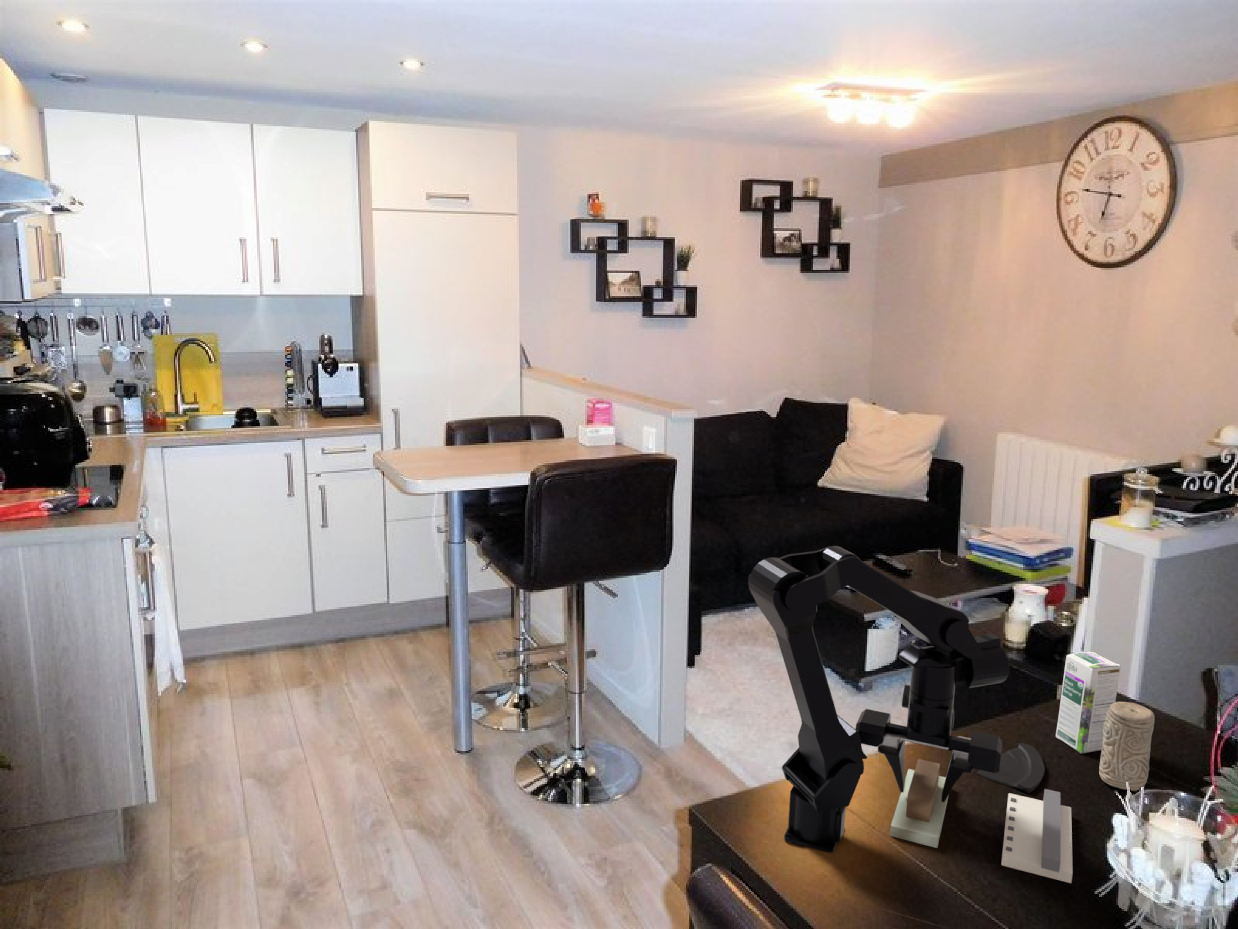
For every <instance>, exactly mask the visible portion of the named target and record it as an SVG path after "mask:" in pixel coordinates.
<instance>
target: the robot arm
mask: <svg viewBox="0 0 1238 929" xmlns="http://www.w3.org/2000/svg"><path fill="white" fill-rule="evenodd" d="M747 578H748V581H747V582H748V583H747V584H748V590H749V592H750V593H751V596H752V597H753V599H754V600H755V603H756V605H757V606H758V609H759V610H760V611H761V612H762V614H763V616H764V617H765V619H766V620H767V621H768V623H769V624H770V626H771V628H772V629H773V630H774V632H775V635H776V639H777V643H778V646H779V649H780V652H781V656H782V658H783V663H784V666H785V668H786V669H785V670H786V672H787V675H788V678H789V679H788V680H789V683H790V686H791V689H792V694H793V696H794V699H795V701H796V702H795V703H796V706H797V709H798V712H799V716H800V719H801V724H800V728H799V732H798V734H797V741H798V748H797V749H796V750H795V751H794V752H793V753H792V754H791V756H790V757H789V758H788V759H787V760H786V761H785V762H784V763H783V765H782V766H781V769H782V773H783V776H784V778H785V780H786V781H788V782H789V783H790V784H791V786H792V787H791V789H790V792H789V804H788V805H789V806H788V821H787V822H788V824H787V826H788V827H787V829H786V830H785V832H784V835H783V839H784V841H786V842H789V843H794V844H795V845H800V846H804V847H807V848H811V849H814V850H818V851H821V852H826V853H829V854H831V853H834V850H836V849H835V848H836V846H837V843H840V842H841V840H842V838H843V836H844V832H845V821H846V808H847V807H849V806H850V804H851V801H852V799H853V797H854V794H855V791H856V789H857V786H858V784H859V781H860V778H861V775H864V771H865V764H864V763H865V762H864V760H866V759H868V756H867V755H866V754H865V752H864V750H863V746H862V745H865V746H869V747H870V746H871V747H875V748H877V752H878V753H879V754H883V755H884V756H885V758H886V760H887V761H888V763H889V765H890V767H891V770H892V771H893V774H894V777H895V780H896V784H897V787H898V789H899V791H900V793H901V792H902V793H903V792H904V788H905V778H906V760H905V758H906V756H905V748H906V742H908V743H913V744H918V745H922V746H927V747H931V748H936V749H941V750H946V751H950V752H951V756H950V760H949V764H948V768H947V771H946V772H947V773H946V776H945V777H946V779H945V783H944V787H943V791H942V799H941V802H945V800H946V799H947V797H948V798H949V796H950V793H951V791H952V790H953V788H954V786H955V784H956V783H957V782H958V781H959V779H960V778H961V777H962V776H963V775H964V773H968V774H971V773H973V772H974V769H975V770H978V771H979V770H983V771H987V772H992V773H997V772H999V769H1000V761H1001V754H1002V752H1003V751H1002V750H1003V743H1004V741H1003V740H1002V738H1001V737H1000V736H999V735H996V734H990V733H986V732H982V731H975V730H972V731H971V736H970V737H965V736H962V735H957V736H955V735H954V736H953V735H952V732H953V730H954V722H955V709H954V702H955V691H956V684H957V685H958V686H959V687H960V688H963V689H971V688H977V687H983V686H988V685H989V686H990V685H994V684H995V685H996V684H1001V683H1002V684H1003V683H1004V682H1005V681H1006V680H1007V679H1008V678H1009V675H1010V670H1011V666H1010V664H1009V660H1008V657H1007V654H1006V652H1005V649H1003V647H1002V645H1001V644H1002V643H1001V642H1002V639H1001V638H1000V637H999V636H996V635H995V634H992V633H984V634H982V635H978V636H974V635H973V633H972V632H971V630H970V629H969V627H970V625H969V623H970V618H969V617H968V615H966V613H965V612H963V611H961V610H959V609H957V608H955V607H953V606H951V605H949V604H947V603H946V602H943V601H941V600H939V599H937V598H936V597H933V596H931V595H927V594H925V593H922V592H919V591H916V590H915V591H914V590H911V589H909V588H907V587H905V586H904V585H902V584H900V583H899V582H898V581H895V580H893V579H892V578H890V577H889V576H887V575H885V574H884V573H882V572H881V571H879V570H877V569H876V568H874V567H872V566H871V565H870V564H867V563H866V562H864V561H862V559H861V558H860V557H859V556H858V555H857V554H854V553H852V552H850V551H848V550H846V549H844V548H843V547H841V546H838V545H832V546H827V547H823V548H821V549H818V550H813V551H807V552H806V551H805V552H797V553H791V554H790V553H789V554H786V555H783V556H781V557H767V558H764V559H762V560H760V561H759V562H758V563H757V564H756V565H755V566H754V567H753V569H752V571H751V572H750V574H749V575H748V577H747ZM845 587H848V588H850V589H853V590H854V591H856V592H857V593H859V594H860V595H862V596H864V597H865V598H867V599H869V600H871V601H873V602H874V603H876V604H878V605H879V606H881V607H883V608H884V609H885V610H886V609H887V611H889V612H890V613H892V615H894V616H895V618H896V619H897V620H898V621H899V623H900V624H902V626H904V628H906V629H907V630H908V631H909V632H910V633H911V634H913V635H914V636H916V637H918V638H919V639H920V640H922V641H924V642H926V643H928V644H930V645H931V646H924V647H921V646H919V645H917V644H916V643H910V645H909V647H907V648H905V649H903V650H902V651H901V652H900V653H899V654H898V656H897V657H898V659H900V660H901V661H903V663H905V664H908V666H911V675H910V682H909V683H910V684H904V687H903V691H902V692H903V694H902V698H901V699H902V700H901V707H902V708H906V709H907V716H906V717H907V720H906V726H905V725H902V724H896V723H892V722H891V720H892V719H891V717H892V716H891V713H887V712H883V711H878V710H873V709H870V708H865V709H864V710H863V711H861V713H860V715H859V717H858V720H857V722H856V724H855V728H854V727H853V726H852V725H851V724H850V723H849V722H847V721H846V720H845V719H843V718H842V717H841V716H840V715H838V712H837V710H836V706H835V703H834V699H833V695H832V693H831V688H830V685H829V681H828V678H827V674H826V671H825V667H824V664H823V660H822V657H821V653H820V650H819V647H818V643H817V642H818V641H817V640H816V636H815V632H814V624H815V619H816V616H817V612H818V605H820V604H822V603H825V602H827V601H830V599H831V598H833V596H835V595H836V594H837V592H839V591H840V590H841V589H843V588H845ZM948 795H949V796H948Z"/></svg>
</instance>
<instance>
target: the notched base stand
mask: <svg viewBox="0 0 1238 929" xmlns="http://www.w3.org/2000/svg"><path fill="white" fill-rule="evenodd" d="M1043 792H1044V793H1043V799H1042V800H1040V799H1036V798H1032V797H1027V796H1022V795H1019V794H1015V793H1010V792H1009V793H1008V794H1007V804H1006V805H1007V806H1006V816H1005V825H1004V832H1003V833H1004V836H1003V843H1002V854H1001V866H1003V867H1007V868H1011V869H1014V870H1018V871H1023V872H1025V873H1030V874H1035V875H1038V876H1042V877H1045V878H1049V879H1052V880H1058V881H1061V882H1065V883H1069V884H1072V881H1073V872H1074V871H1073V839H1072V838H1073V836H1072V835H1073V832H1072V827H1073V826H1072V806H1071V807H1070V806H1066V805H1063V804H1061V792H1060V791H1055V790H1051V789H1048V788H1047V789H1046V788H1044V790H1043Z"/></svg>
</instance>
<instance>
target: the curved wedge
mask: <svg viewBox="0 0 1238 929" xmlns="http://www.w3.org/2000/svg"><path fill="white" fill-rule="evenodd" d="M1037 750H1038V749H1037V748H1035V747H1034V746H1033V745H1030V744H1027V743H1024V742H1021V741H1018V746H1017V747H1015V748H1012V749H1008V750H1006V751H1005V752H1003V753H1001V761H1000V769H999V772H997V773H992V772H987V771H983V770H978V771H977V772H976V774H977V775H978V776H980V777H982V778H984V779H987V780H989V781H991V780H992V782H995V783H997V784H1000V785H1004V786H1007V787H1009V788H1010V787H1011V788H1013V789H1018V790H1020V791H1023V792H1025V793H1026V794H1027V793H1028V794H1030V793H1031V792H1033V791H1034V790H1036V788H1038V786H1039V785H1040V784H1041V782H1042V780H1043V777H1044V775H1045V764H1044V760H1043V758H1042V756H1041V754H1040V753H1039V752H1038V751H1037Z"/></svg>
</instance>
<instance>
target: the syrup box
mask: <svg viewBox="0 0 1238 929" xmlns="http://www.w3.org/2000/svg"><path fill="white" fill-rule="evenodd" d="M1063 672H1064V673H1063V680H1062V689H1061V695H1060V696H1061V697H1060V703H1059V711H1058V718H1057V725H1056V731H1055V738H1057V739H1058V740H1060V741H1062V742H1063V743H1065V744H1066V745H1068V746H1069V747H1071V748H1073V749H1074V750H1075V751H1077V752H1078V753H1079V754H1086V753H1093V752H1097V751H1101V750H1102V746H1103V744H1102V741H1103V727H1104V722H1105V718H1106V712H1107V711H1108V708H1109V707H1110V706H1111V704H1113V703H1115V702H1117V701H1116V699H1117V694H1118V686H1119V679H1120V672H1121V664H1118V663H1116V662H1114V661H1111V660H1110V659H1107V658H1105V657H1104V656H1101V655H1099V654H1097V653H1096V652H1095V651H1080V652H1075V653H1074V652H1073V653H1069V654H1067V655H1066V658H1065V665H1064V671H1063Z"/></svg>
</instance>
